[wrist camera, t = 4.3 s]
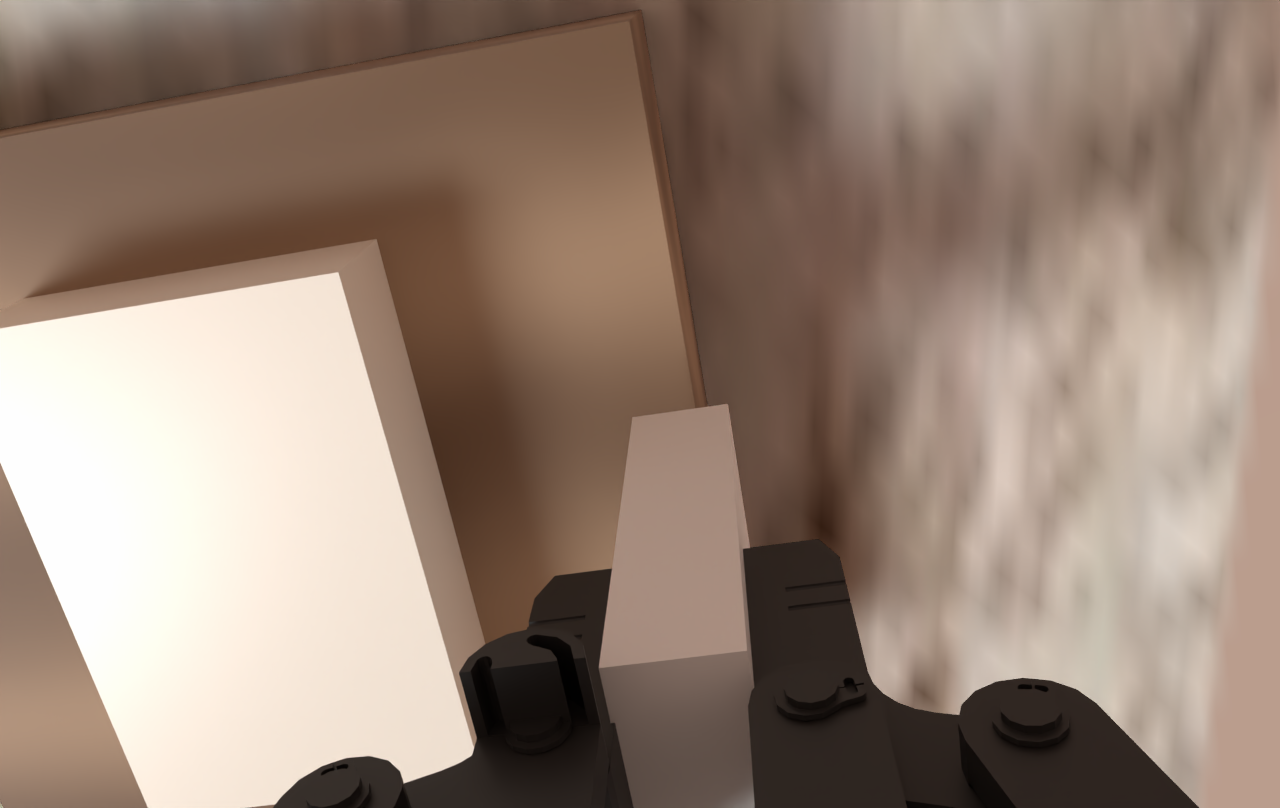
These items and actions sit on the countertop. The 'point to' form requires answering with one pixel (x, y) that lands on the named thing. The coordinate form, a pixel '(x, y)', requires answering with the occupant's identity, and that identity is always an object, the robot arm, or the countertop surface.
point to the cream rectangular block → (243, 521)
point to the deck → (421, 291)
